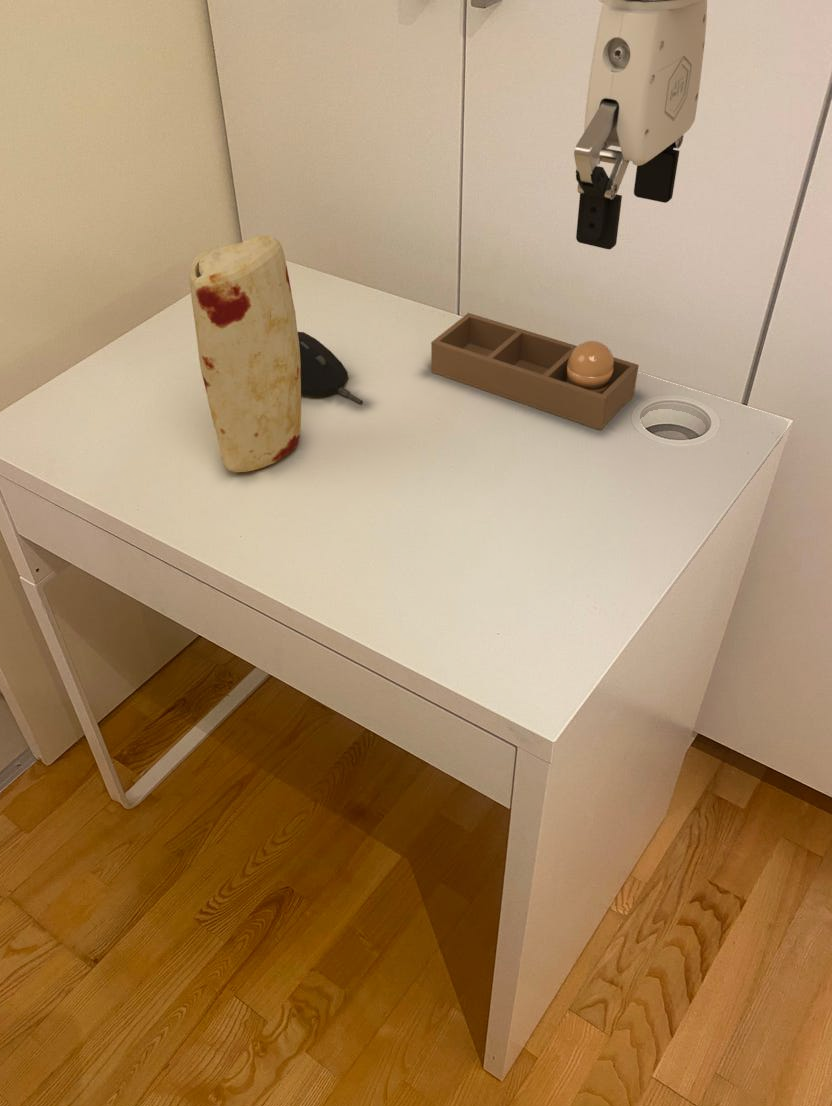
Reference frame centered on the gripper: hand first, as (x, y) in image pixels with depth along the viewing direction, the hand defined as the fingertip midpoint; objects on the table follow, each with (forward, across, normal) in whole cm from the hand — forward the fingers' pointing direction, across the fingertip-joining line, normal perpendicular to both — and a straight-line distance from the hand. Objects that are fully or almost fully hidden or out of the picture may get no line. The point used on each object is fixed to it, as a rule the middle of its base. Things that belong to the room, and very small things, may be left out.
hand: (624, 220), depth 80 cm
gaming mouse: (+18, -10, +28) cm, 35 cm away
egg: (+18, +1, +2) cm, 18 cm away
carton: (+18, +1, +8) cm, 20 cm away
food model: (+18, -22, +23) cm, 37 cm away
